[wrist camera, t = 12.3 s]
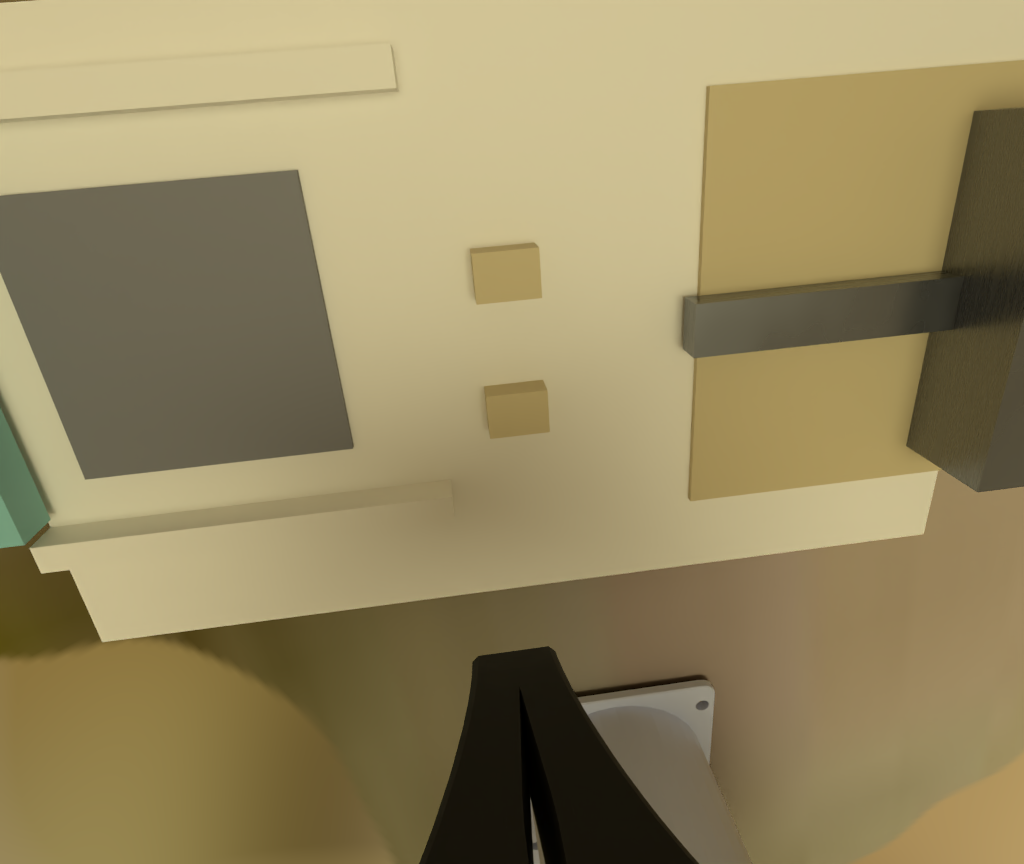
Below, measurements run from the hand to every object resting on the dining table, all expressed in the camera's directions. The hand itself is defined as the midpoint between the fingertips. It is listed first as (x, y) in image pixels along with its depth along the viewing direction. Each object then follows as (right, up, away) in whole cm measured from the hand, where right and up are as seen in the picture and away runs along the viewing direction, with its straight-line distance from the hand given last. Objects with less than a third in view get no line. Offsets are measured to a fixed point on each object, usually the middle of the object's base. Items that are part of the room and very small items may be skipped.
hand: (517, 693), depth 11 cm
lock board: (0, +8, +7) cm, 11 cm away
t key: (+9, +8, +6) cm, 13 cm away
